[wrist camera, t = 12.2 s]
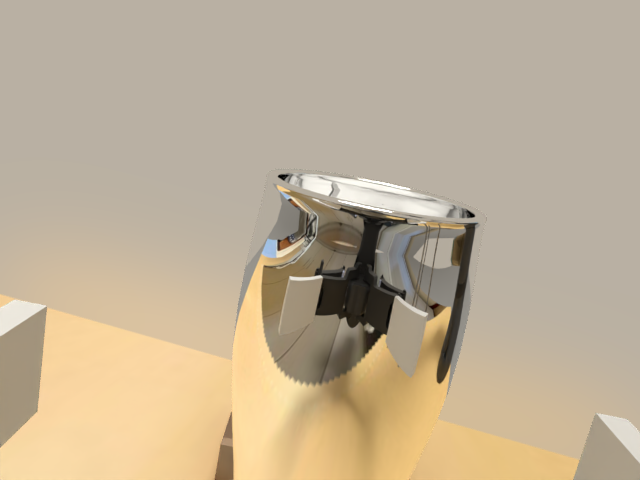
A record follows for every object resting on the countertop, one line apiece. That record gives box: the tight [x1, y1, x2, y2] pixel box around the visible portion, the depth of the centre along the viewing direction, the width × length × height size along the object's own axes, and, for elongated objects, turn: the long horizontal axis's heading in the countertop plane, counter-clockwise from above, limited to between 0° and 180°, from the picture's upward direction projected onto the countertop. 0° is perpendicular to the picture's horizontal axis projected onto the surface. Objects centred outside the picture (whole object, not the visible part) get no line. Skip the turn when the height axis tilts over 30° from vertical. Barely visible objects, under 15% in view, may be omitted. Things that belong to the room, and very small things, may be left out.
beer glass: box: [232, 169, 487, 480], centre depth 18 cm, size 7×7×15 cm
